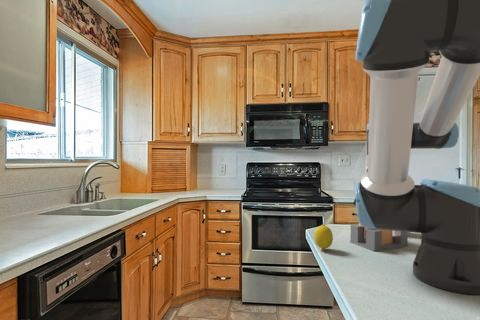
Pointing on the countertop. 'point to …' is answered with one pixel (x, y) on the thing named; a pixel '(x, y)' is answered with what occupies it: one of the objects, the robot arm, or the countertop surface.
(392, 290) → the countertop surface
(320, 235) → the lemon
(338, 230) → the countertop surface
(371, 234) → the grey stand
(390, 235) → the block
